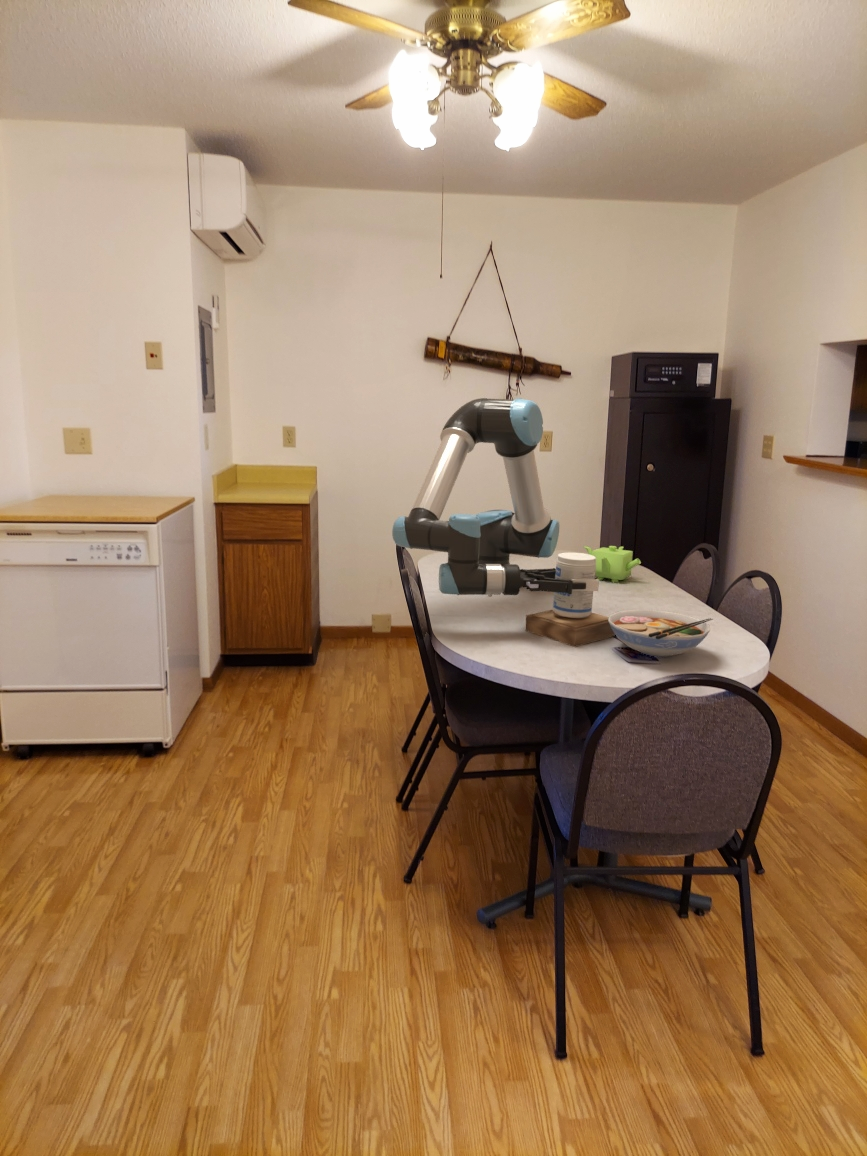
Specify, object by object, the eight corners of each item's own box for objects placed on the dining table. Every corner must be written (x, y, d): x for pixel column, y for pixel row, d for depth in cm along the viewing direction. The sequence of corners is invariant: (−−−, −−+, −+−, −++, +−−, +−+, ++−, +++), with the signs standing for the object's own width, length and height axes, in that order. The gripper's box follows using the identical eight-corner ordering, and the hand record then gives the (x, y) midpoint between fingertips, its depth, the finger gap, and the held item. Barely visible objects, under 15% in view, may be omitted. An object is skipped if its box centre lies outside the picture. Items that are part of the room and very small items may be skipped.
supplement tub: (544, 612, 192) (548, 554, 189) (568, 606, 199) (572, 550, 195) (576, 621, 185) (580, 561, 182) (599, 614, 192) (604, 556, 188)
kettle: (580, 575, 261) (583, 542, 259) (619, 574, 264) (621, 542, 262) (599, 585, 247) (602, 550, 244) (640, 584, 250) (643, 550, 248)
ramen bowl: (644, 632, 196) (647, 601, 194) (729, 655, 179) (733, 621, 177) (582, 650, 179) (584, 616, 178) (668, 677, 163) (672, 640, 161)
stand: (525, 630, 194) (526, 613, 193) (567, 620, 204) (568, 604, 203) (574, 646, 182) (576, 628, 181) (616, 635, 192) (618, 618, 191)
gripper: (494, 584, 200) (579, 585, 202) (509, 606, 178) (604, 606, 180) (495, 555, 198) (581, 556, 200) (511, 574, 177) (606, 575, 179)
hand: (592, 580), depth 190 cm, fingers closed on supplement tub, 9 cm apart
